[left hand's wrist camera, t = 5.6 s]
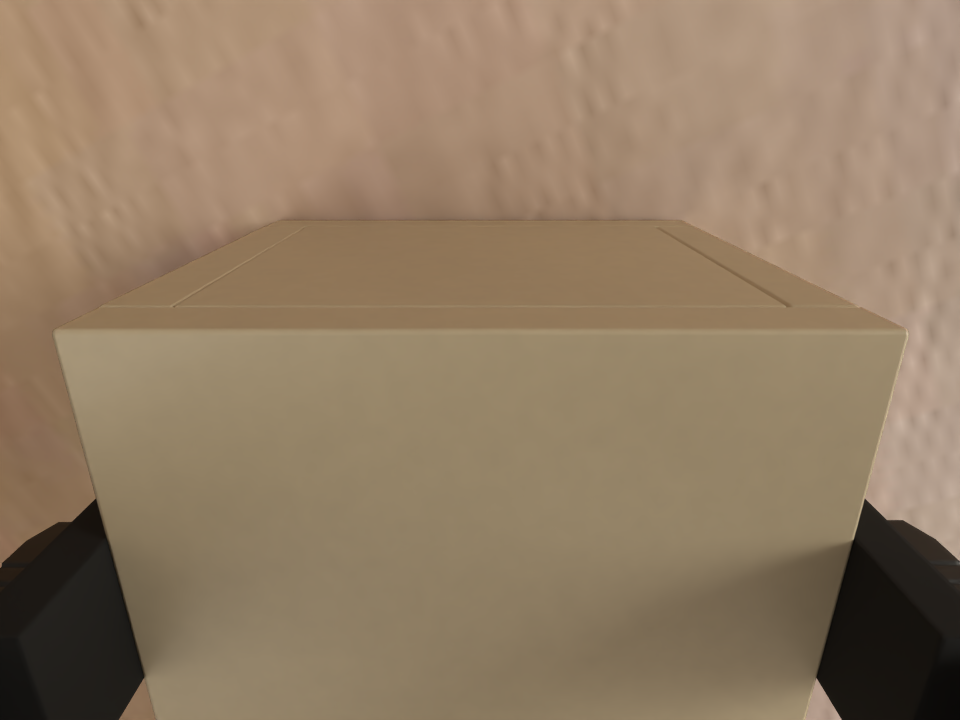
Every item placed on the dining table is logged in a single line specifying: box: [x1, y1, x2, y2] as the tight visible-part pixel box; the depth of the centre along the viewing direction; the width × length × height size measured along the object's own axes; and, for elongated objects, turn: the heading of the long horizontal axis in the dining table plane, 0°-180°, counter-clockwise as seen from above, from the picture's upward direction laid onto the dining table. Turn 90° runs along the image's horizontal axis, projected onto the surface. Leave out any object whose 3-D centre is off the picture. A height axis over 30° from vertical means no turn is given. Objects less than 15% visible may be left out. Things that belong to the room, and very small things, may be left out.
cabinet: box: [52, 220, 909, 720], centre depth 15 cm, size 16×11×9 cm, turn 0°
